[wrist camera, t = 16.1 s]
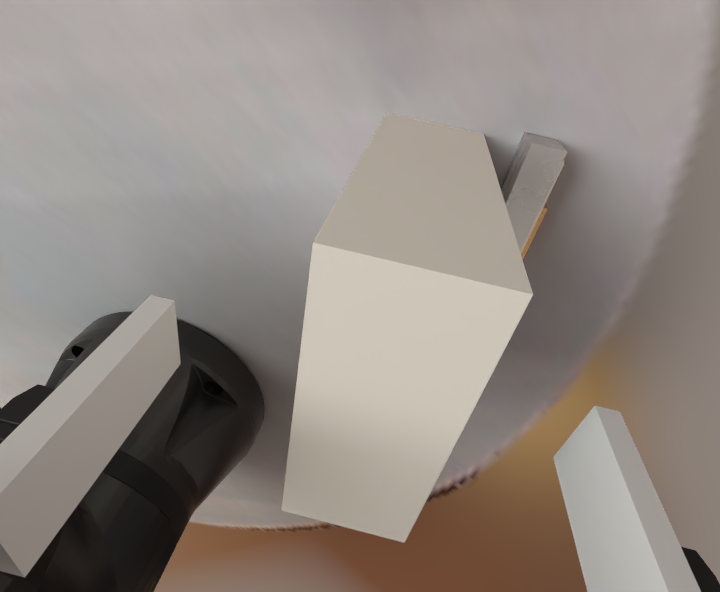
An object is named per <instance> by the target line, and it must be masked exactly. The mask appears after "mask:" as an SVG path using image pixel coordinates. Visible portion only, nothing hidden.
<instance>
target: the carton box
mask: <svg viewBox="0 0 720 592" xmlns="http://www.w3.org/2000/svg"><path fill="white" fill-rule="evenodd" d="M532 296H533V292H532V289H531V286H530V282H529V279H528V276H527V273H526V270H525V266H524V263H523V260H522V257H521V253H520V250H519V247H518V244H517V240H516V237H515V234H514V231H513V227H512V224H511V221H510V218H509V214H508V211H507V208H506V205H505V201H504V198H503V195H502V192H501V188H500V185H499V182H498V179H497V175H496V172H495V169H494V166H493V162H492V159H491V156H490V153H489V149H488V146H487V143H486V140H485V137H484V134H483V133H478V132H474V131H469V130H465V129H460V128H456V127H451V126H447V125H442V124H438V123H433V122H429V121H424V120H420V119H415V118H411V117H406V116H402V115H397V114H393V113H389V112H386V114H385V116H384V117H383V119H382V121H381V123H380V125H379V126H378V128H377V130H376V132H375V133H374V135H373V137H372V139H371V140H370V142H369V144H368V146H367V148H366V149H365V151H364V153H363V155H362V156H361V158H360V160H359V162H358V164H357V165H356V167H355V169H354V171H353V172H352V174H351V176H350V178H349V179H348V181H347V183H346V185H345V187H344V188H343V190H342V192H341V194H340V195H339V197H338V199H337V201H336V203H335V204H334V206H333V208H332V210H331V211H330V213H329V215H328V217H327V218H326V220H325V222H324V224H323V226H322V227H321V229H320V231H319V233H318V234H317V236H316V238H315V240H314V242H313V247H312V255H311V264H310V272H309V280H308V289H307V297H306V306H305V314H304V323H303V331H302V340H301V348H300V357H299V365H298V374H297V382H296V391H295V399H294V408H293V416H292V424H291V433H290V441H289V450H288V458H287V467H286V475H285V484H284V492H283V501H282V509H281V511H285V512H289V513H293V514H297V515H300V516H304V517H308V518H312V519H316V520H319V521H323V522H327V523H331V524H335V525H339V526H342V527H346V528H350V529H354V530H358V531H362V532H365V533H369V534H373V535H377V536H380V537H384V538H388V539H392V540H396V541H400V542H403V543H404V542H405V541H406V539H407V537H408V535H409V533H410V531H411V529H412V527H413V525H414V523H415V521H416V520H417V518H418V516H419V514H420V512H421V510H422V508H423V506H424V504H425V502H426V500H427V498H428V496H429V495H430V493H431V491H432V489H433V487H434V485H435V483H436V481H437V479H438V477H439V475H440V473H441V471H442V469H443V468H444V466H445V464H446V462H447V460H448V458H449V456H450V454H451V452H452V450H453V448H454V446H455V444H456V442H457V441H458V439H459V437H460V435H461V433H462V431H463V429H464V427H465V425H466V423H467V421H468V419H469V417H470V415H471V414H472V412H473V410H474V408H475V406H476V404H477V402H478V400H479V398H480V396H481V394H482V392H483V390H484V388H485V387H486V385H487V383H488V381H489V379H490V377H491V375H492V373H493V371H494V369H495V367H496V365H497V363H498V362H499V360H500V358H501V356H502V354H503V352H504V350H505V348H506V346H507V344H508V342H509V340H510V338H511V336H512V335H513V333H514V331H515V329H516V327H517V325H518V323H519V321H520V319H521V317H522V315H523V313H524V311H525V309H526V308H527V306H528V304H529V302H530V300H531V298H532Z"/></svg>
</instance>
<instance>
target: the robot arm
mask: <svg viewBox="0 0 720 592" xmlns="http://www.w3.org/2000/svg"><path fill="white" fill-rule="evenodd" d="M263 418H264V402H263V398H262V394H261V392H260V389H259V387H258V385H257V383H256V381H255V379H254V378H253V376H252V375H251V373H250V372H249V371H248V369H247V368H246V367H245V366H244V364H243V363H242V362H241V361H240V360H239V359H238V358H237V357H236V356H235V355H234V354H233V353H232V352H231V351H229V350H228V349H227V348H226V347H224V346H223V345H222V344H221V343H219V342H218V341H216V340H215V339H213V338H212V337H210V336H209V335H207V334H205V333H204V332H202V331H200V330H198V329H196V328H194V327H192V326H190V325H188V324H185V323H183V322H180V321H178V320H177V319H176V309H175V301H174V300H170V299H166V298H162V297H158V296H154V295H150V296H149V297H148V298H147V299H146V300H145V301H144V302H143V303H142V304H141V305H140V306H139V307H138V308H137V309H136V310H135V311H134V312H119V313H114V314H110V315H106V316H104V317H101V318H99V319H97V320H96V321H94V322H93V323H92V324H91V325H89V326H88V327H87V328H86V329H85V330H84V331H83V332H82V333H80V334H79V335H78V336H77V337H76V338H75V339H74V340H73V341H72V342H71V343H70V344H69V345H68V346H67V347H66V349H65V350H64V352H63V353H62V355H61V357H60V359H59V361H58V363H57V364H56V366H55V368H54V370H53V372H52V374H51V376H50V378H49V379H48V381H47V383H46V385H45V386H42V385H36V386H34V387H32V388H31V389H29V390H27V391H25V392H23V393H21V394H20V395H18V396H16V397H14V398H13V399H12V400H11V401H9V402H8V403H7V404H6V405H5V406H4V407H3V408H2V409H1V407H0V592H154V590H155V588H156V586H157V584H158V582H159V580H160V578H161V576H162V574H163V572H164V569H165V567H166V565H167V563H168V561H169V559H170V557H171V555H172V553H173V551H174V549H175V547H176V545H177V543H178V541H179V539H180V537H181V535H182V533H183V531H184V529H185V527H186V525H187V523H188V521H189V520H190V518H191V516H192V514H193V513H194V511H195V510H196V509H197V508H198V506H199V505H200V504H201V503H202V502H203V501H204V500H205V499H206V498H207V497H208V496H209V494H210V493H211V492H212V491H213V490H214V489H215V488H216V487H217V486H218V485H219V483H220V482H221V481H222V480H223V479H224V478H225V477H226V476H227V475H228V474H229V473H230V471H231V470H232V469H233V468H234V467H235V466H236V465H237V464H238V463H239V462H240V461H241V459H242V458H243V457H244V456H245V455H246V454H247V452H248V451H249V449H250V448H251V446H252V444H253V442H254V440H255V438H256V435H257V433H258V431H259V429H260V426H261V424H262V421H263ZM553 459H554V462H555V466H556V470H557V474H558V478H559V482H560V486H561V490H562V494H563V498H564V501H565V505H566V509H567V513H568V517H569V521H570V525H571V529H572V533H573V537H574V540H575V545H576V548H577V552H578V556H579V560H580V564H581V568H582V572H583V576H584V580H585V584H586V587H587V591H588V592H720V584H719V582H718V580H717V578H716V577H715V575H714V574H713V572H712V571H711V570H710V568H709V567H708V566H707V565H706V563H705V562H704V561H703V559H702V558H701V557H700V556H699V554H698V553H697V552H696V551H695V550H691V549H687V548H683V547H681V546H680V544H679V542H678V539H677V537H676V535H675V533H674V530H673V528H672V526H671V524H670V522H669V520H668V517H667V515H666V513H665V510H664V508H663V506H662V504H661V502H660V499H659V497H658V495H657V493H656V491H655V488H654V486H653V484H652V482H651V480H650V477H649V475H648V473H647V471H646V468H645V466H644V464H643V462H642V459H641V457H640V455H639V453H638V451H637V449H636V446H635V444H634V442H633V440H632V438H631V435H630V433H629V431H628V428H627V426H626V424H625V422H624V420H623V417H622V415H621V413H620V412H619V411H616V410H612V409H608V408H603V407H599V406H594V407H593V408H592V409H591V411H590V412H589V413H588V415H587V416H586V417H585V418H584V419H583V421H582V422H581V423H580V424H579V426H578V427H577V428H576V429H575V431H574V432H573V433H572V434H571V436H570V437H569V438H568V439H567V441H566V442H565V443H564V444H563V445H562V447H561V448H560V449H559V450H558V452H557V453H556V454H555V455H554V457H553Z"/></svg>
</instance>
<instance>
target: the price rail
mask: <svg viewBox="0 0 720 592" xmlns="http://www.w3.org/2000/svg"><path fill="white" fill-rule="evenodd" d="M567 152H568V151H567V150H566V149H565V148H564V147H563V146H562V144H561V143H560V142H559V141H558V140H555V139H550V138H546V137H542V136H538V135H534V134H530V133H524V136H523V138H522V140H521V143H520V145H519V148H518V150H517V153H516V155H515V158H514V160H513V162H512V165H511V167H510V170H509V172H508V175H507V177H506V180H505V182H504V185H503V187H502V189H501V192H502V195H503V198H504V201H505V205H506V208H507V211H508V214H509V218H510V221H511V224H512V227H513V231H514V234H515V237H516V240H517V244H518V247H519V250H520V253H521V257H522V260H523V259H524V257H525V255H526V253H527V251H528V249H529V247H530V245H531V242H532V240H533V238H534V236H535V234H536V232H537V230H538V228H539V226H540V224H541V222H542V220H543V218H544V216H545V214H546V212H547V210H548V208H547V206H546V204H545V203H546V201H547V199H548V197H549V195H550V193H551V191H552V189H553V187H554V185H555V183H556V181H557V178H558V176H559V174H560V172H561V170H562V168H563V166H564V164H565V162H564V159H565V157H566V155H567Z"/></svg>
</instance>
